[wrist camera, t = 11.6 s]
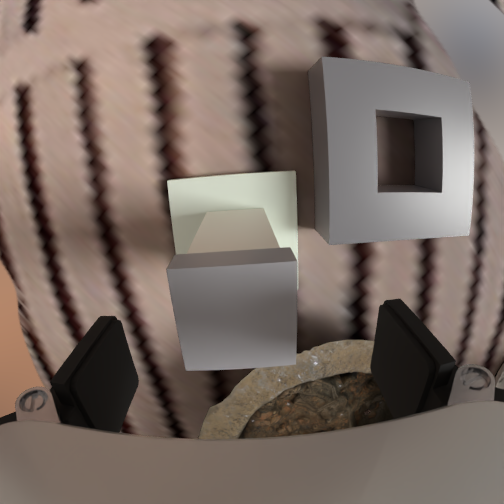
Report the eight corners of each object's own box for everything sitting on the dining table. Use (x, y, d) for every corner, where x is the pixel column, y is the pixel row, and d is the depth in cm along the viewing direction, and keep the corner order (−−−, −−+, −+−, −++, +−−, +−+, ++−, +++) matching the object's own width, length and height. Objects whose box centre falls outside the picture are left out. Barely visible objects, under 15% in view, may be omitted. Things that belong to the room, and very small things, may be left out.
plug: (267, 203, 22) (297, 261, 11) (270, 265, 23) (296, 364, 12) (202, 208, 22) (166, 269, 11) (208, 269, 23) (186, 370, 12)
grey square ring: (441, 87, 20) (469, 81, 16) (442, 222, 24) (469, 235, 20) (307, 71, 20) (321, 56, 16) (315, 229, 23) (329, 244, 20)
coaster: (293, 170, 22) (295, 171, 21) (296, 285, 25) (298, 289, 24) (169, 179, 22) (167, 180, 21) (184, 292, 25) (182, 297, 24)
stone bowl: (288, 483, 35) (292, 535, 26) (157, 384, 30) (131, 446, 21) (445, 398, 31) (477, 445, 22) (363, 246, 26) (410, 286, 17)
